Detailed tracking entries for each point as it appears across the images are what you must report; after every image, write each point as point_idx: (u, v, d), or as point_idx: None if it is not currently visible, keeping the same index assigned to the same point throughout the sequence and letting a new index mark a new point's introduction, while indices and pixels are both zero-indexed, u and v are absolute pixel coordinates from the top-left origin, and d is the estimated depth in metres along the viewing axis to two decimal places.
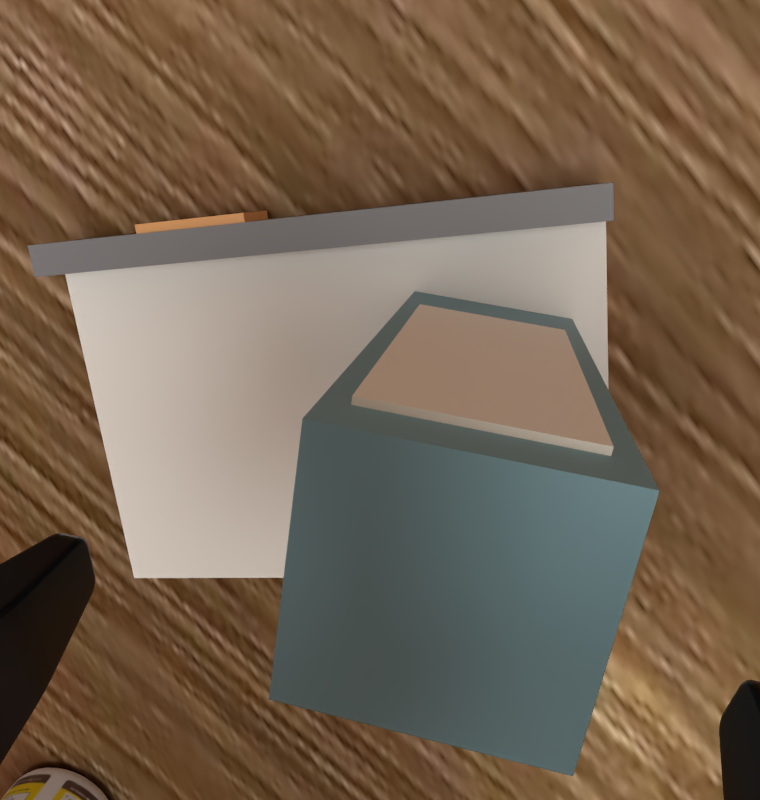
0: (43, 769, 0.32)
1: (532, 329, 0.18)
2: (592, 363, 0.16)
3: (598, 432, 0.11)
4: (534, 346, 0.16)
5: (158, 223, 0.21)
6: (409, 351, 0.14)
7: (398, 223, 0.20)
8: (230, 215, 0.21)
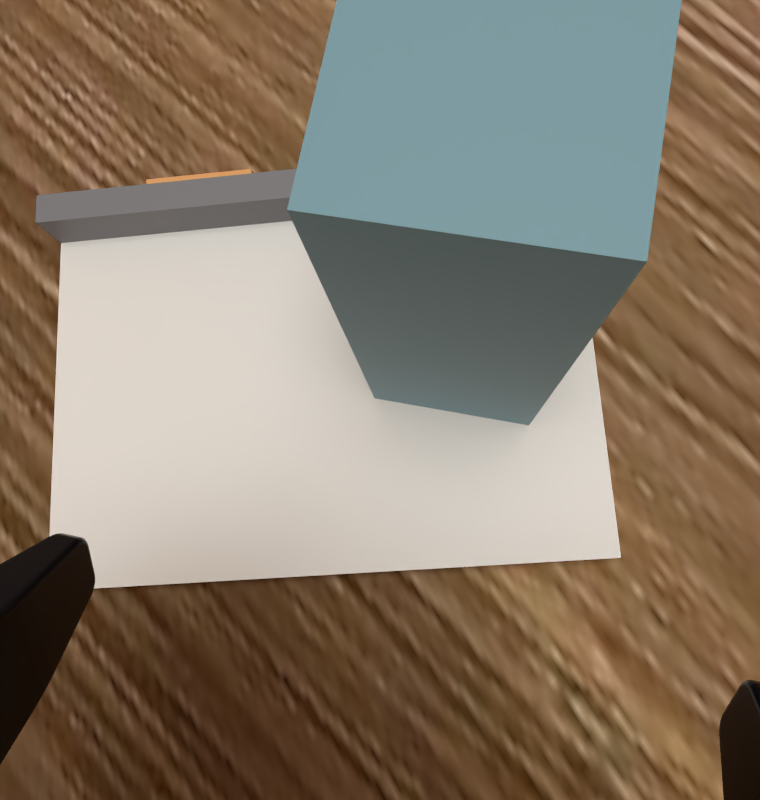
0: None
1: None
2: None
3: None
4: None
5: (169, 178, 0.23)
6: None
7: None
8: (239, 171, 0.23)
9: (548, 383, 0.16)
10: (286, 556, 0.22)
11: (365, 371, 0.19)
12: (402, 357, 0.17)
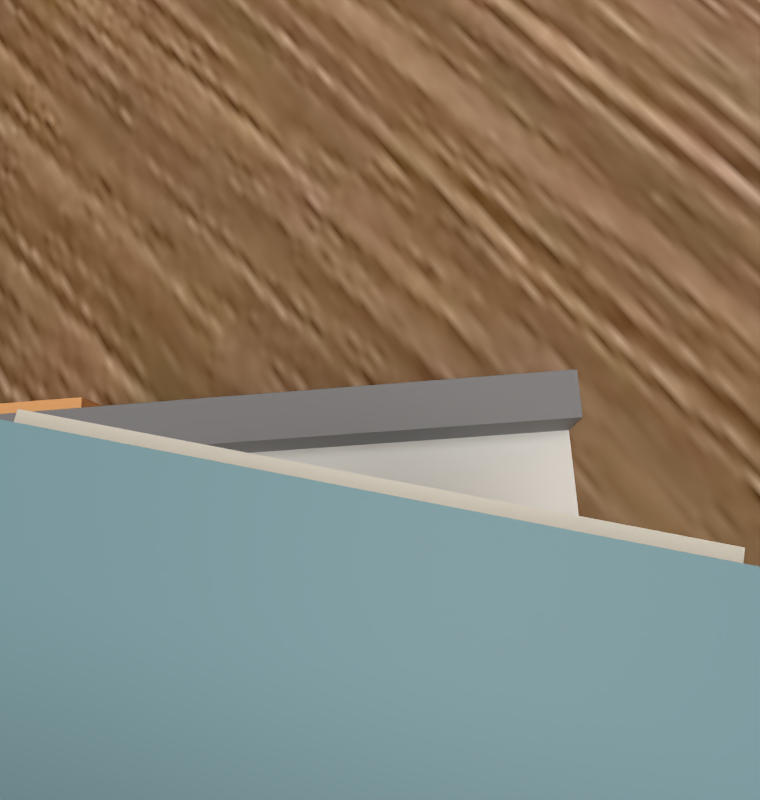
0: None
1: None
2: None
3: None
4: None
5: None
6: None
7: (291, 414, 0.15)
8: (63, 400, 0.15)
9: None
10: None
11: None
12: None
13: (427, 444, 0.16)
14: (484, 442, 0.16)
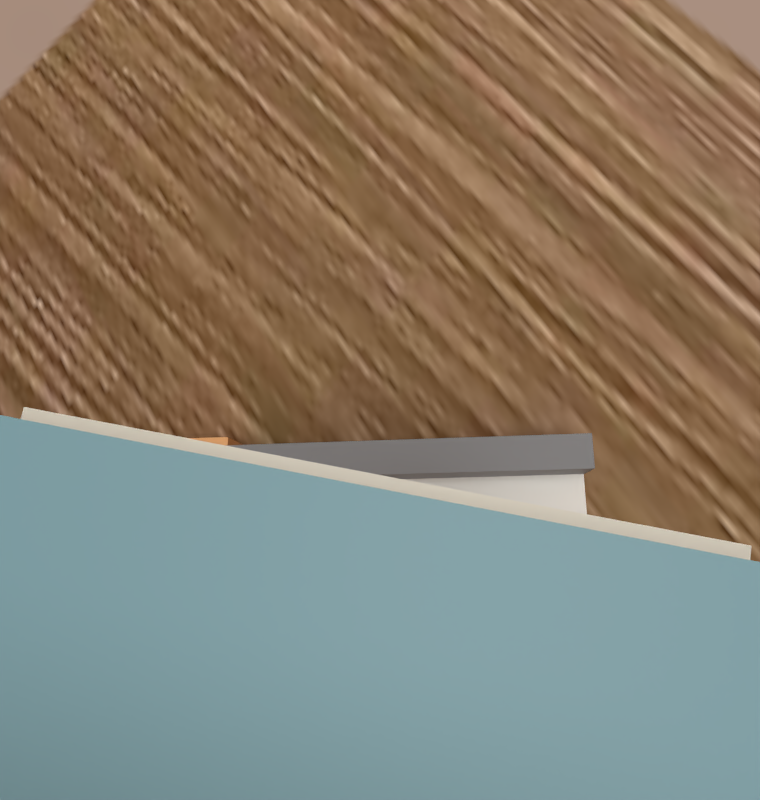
0: None
1: None
2: None
3: None
4: None
5: None
6: None
7: (384, 457, 0.20)
8: (214, 439, 0.21)
9: None
10: None
11: None
12: None
13: (478, 480, 0.21)
14: (520, 480, 0.21)
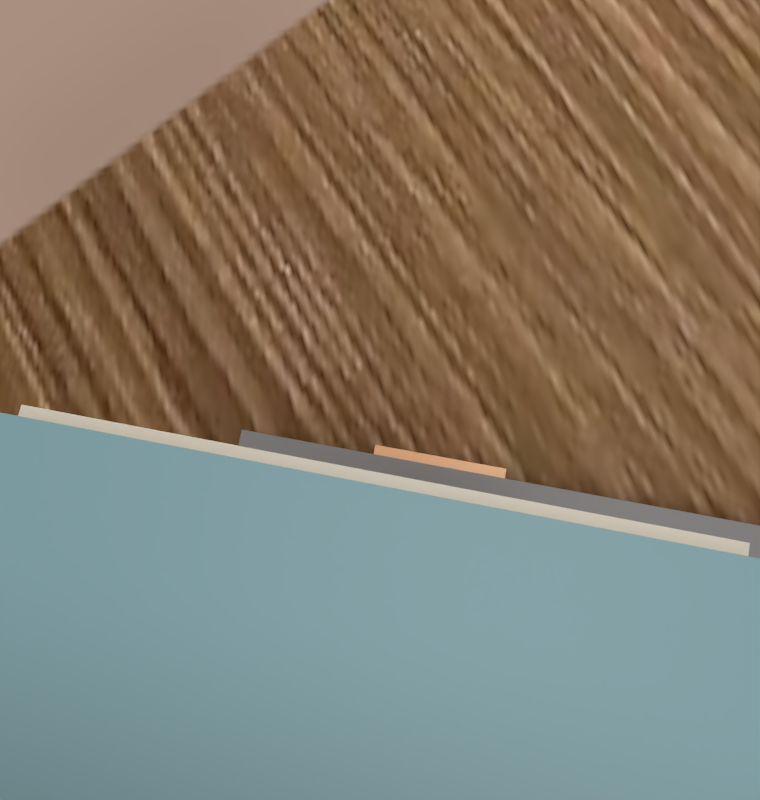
0: None
1: None
2: None
3: None
4: None
5: (404, 451, 0.19)
6: None
7: None
8: (490, 467, 0.19)
9: None
10: None
11: None
12: None
13: None
14: None
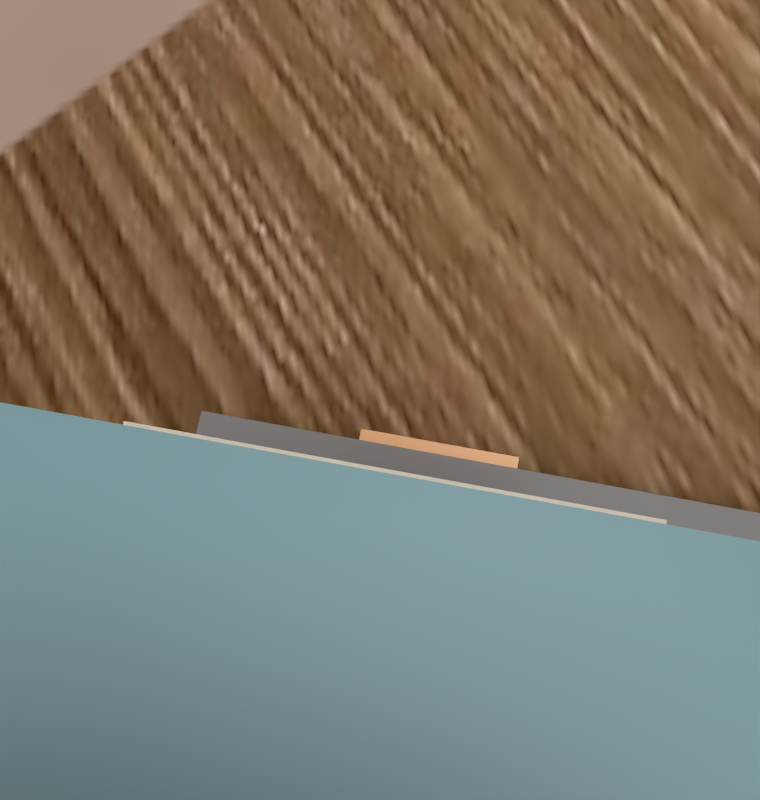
0: None
1: None
2: None
3: None
4: None
5: (395, 436, 0.16)
6: None
7: (740, 533, 0.15)
8: (499, 455, 0.16)
9: None
10: None
11: None
12: None
13: None
14: None
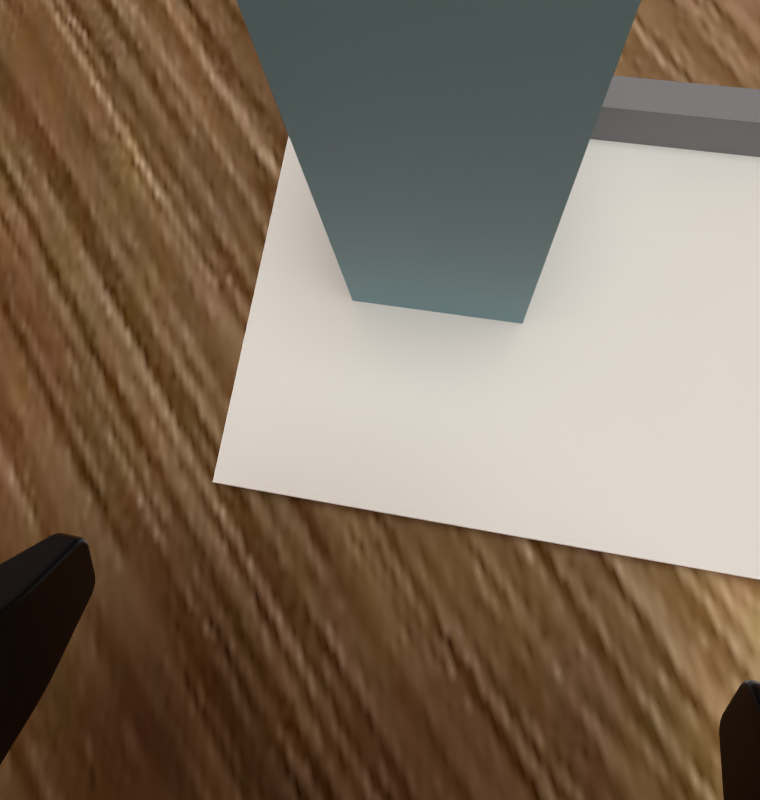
0: None
1: None
2: None
3: None
4: None
5: None
6: None
7: (710, 101, 0.19)
8: None
9: (541, 240, 0.14)
10: (487, 507, 0.19)
11: (337, 251, 0.17)
12: (375, 217, 0.15)
13: None
14: None
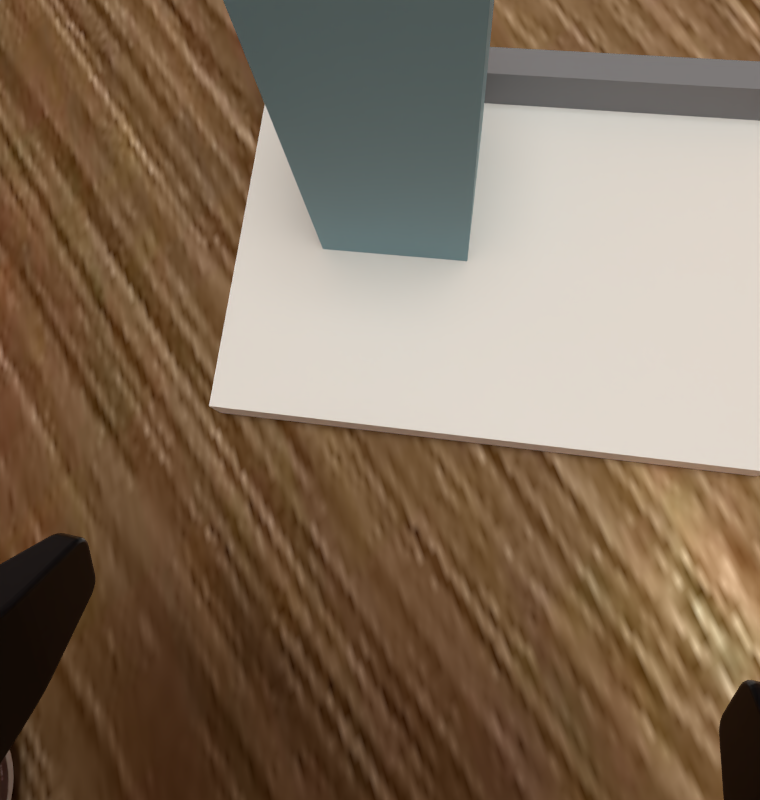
0: None
1: None
2: None
3: None
4: None
5: None
6: None
7: (613, 67, 0.23)
8: None
9: (466, 172, 0.18)
10: (443, 414, 0.23)
11: (305, 197, 0.21)
12: (332, 160, 0.18)
13: (683, 118, 0.24)
14: (722, 121, 0.24)
